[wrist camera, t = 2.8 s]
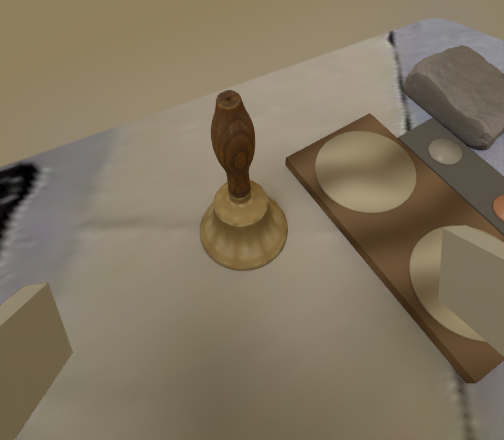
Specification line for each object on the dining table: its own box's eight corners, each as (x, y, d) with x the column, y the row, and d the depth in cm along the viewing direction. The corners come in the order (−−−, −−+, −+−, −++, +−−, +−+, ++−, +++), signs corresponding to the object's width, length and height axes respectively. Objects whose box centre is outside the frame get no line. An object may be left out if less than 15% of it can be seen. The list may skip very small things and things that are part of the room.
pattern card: (395, 142, 35) (398, 136, 34) (429, 122, 36) (433, 116, 35) (524, 262, 28) (532, 258, 27) (561, 234, 29) (570, 229, 28)
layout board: (285, 164, 34) (286, 155, 33) (366, 121, 36) (370, 111, 35) (466, 383, 24) (478, 382, 23) (562, 304, 26) (577, 300, 25)
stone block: (443, 73, 42) (392, 91, 38) (470, 36, 38) (415, 52, 34) (519, 134, 38) (469, 161, 34) (558, 100, 34) (507, 126, 30)
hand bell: (302, 212, 31) (332, 69, 17) (262, 287, 28) (258, 187, 14) (228, 180, 33) (200, 28, 19) (183, 246, 30) (110, 122, 16)
